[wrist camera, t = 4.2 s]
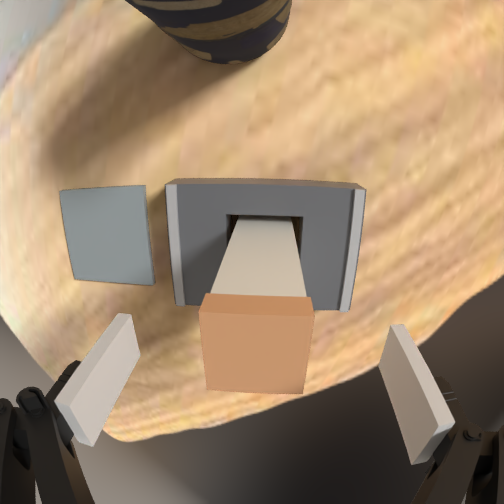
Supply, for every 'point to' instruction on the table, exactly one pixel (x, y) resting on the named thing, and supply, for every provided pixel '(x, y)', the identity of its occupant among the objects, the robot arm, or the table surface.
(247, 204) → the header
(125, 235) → the pad
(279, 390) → the plug
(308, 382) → the table surface
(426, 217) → the table surface
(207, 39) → the canister
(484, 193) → the table surface
